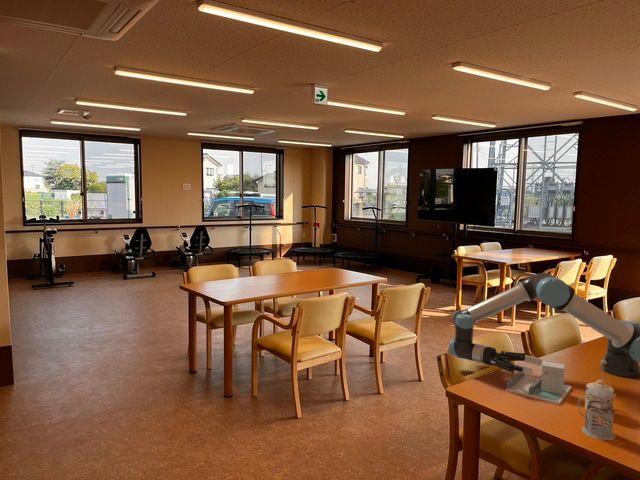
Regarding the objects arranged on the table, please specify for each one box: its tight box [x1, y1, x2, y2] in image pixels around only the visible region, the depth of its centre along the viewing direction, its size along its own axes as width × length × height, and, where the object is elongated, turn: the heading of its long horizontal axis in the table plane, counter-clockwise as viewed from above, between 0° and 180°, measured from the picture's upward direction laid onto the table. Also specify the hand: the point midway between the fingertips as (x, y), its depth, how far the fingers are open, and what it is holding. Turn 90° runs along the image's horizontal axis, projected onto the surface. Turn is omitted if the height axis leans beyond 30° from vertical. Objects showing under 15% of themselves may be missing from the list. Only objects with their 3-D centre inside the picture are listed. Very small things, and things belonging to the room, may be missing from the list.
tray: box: [506, 372, 572, 405], centre depth 195 cm, size 20×20×4 cm
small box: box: [541, 361, 566, 394], centre depth 192 cm, size 8×6×10 cm
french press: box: [576, 359, 617, 441], centre depth 160 cm, size 10×12×25 cm
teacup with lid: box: [584, 379, 615, 415], centre depth 177 cm, size 12×9×12 cm
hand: (536, 366), depth 196 cm, fingers open, 13 cm apart
